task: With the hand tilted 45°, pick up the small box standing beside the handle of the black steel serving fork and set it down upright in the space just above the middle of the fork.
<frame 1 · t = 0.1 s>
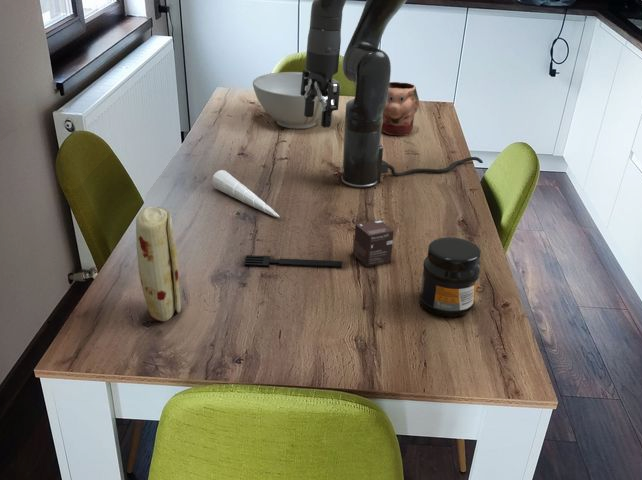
hand: (316, 121, 168), 17 cm above the table, tool pointing down, fingers open, 8 cm apart
unicorn horn: (246, 202, 171), on the table
food model: (164, 314, 128), on the table
supplement container: (445, 305, 135), on the table
decorative bowl: (296, 123, 222), on the table
decorative planter: (396, 130, 221), on the table
fork: (293, 263, 146), on the table
box: (371, 259, 149), on the table
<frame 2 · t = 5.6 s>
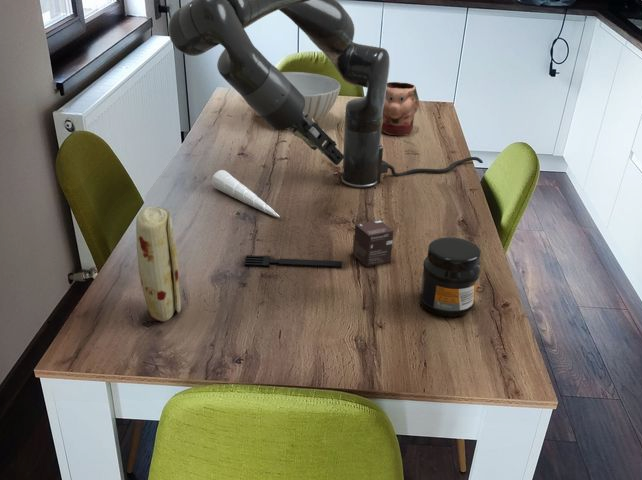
hand: (328, 153, 130), 24 cm above the table, tool tilted 45°, fingers open, 8 cm apart
nothing on the table moved.
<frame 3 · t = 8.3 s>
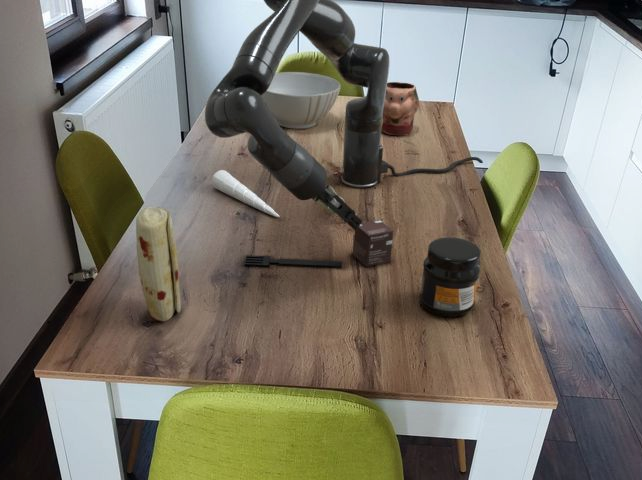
hand: (347, 216, 140), 11 cm above the table, tool tilted 45°, fingers open, 8 cm apart
nothing on the table moved.
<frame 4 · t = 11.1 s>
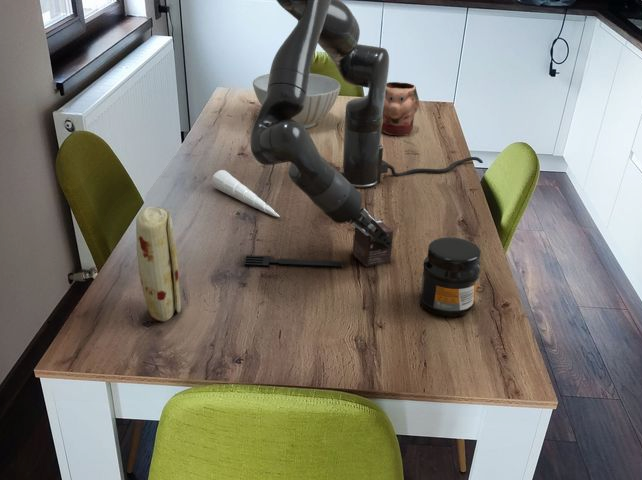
hand: (380, 238, 147), 4 cm above the table, tool tilted 45°, fingers closed on box, 6 cm apart
box: (371, 259, 149), on the table, touching gripper
everything else where it was.
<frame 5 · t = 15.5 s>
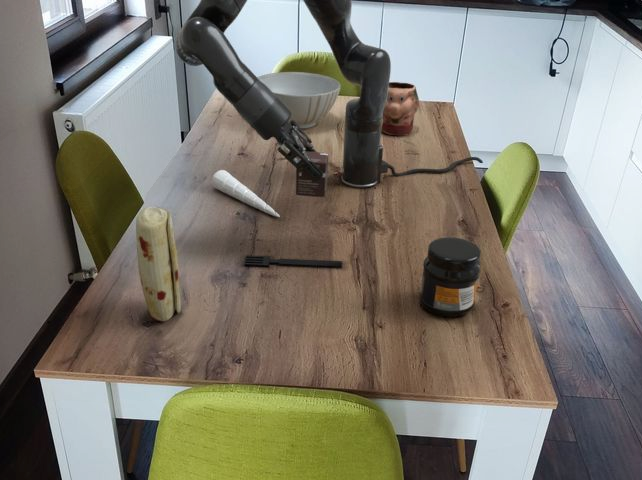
hand: (320, 171, 143), 17 cm above the table, tool tilted 45°, fingers closed on box, 6 cm apart
box: (311, 192, 145), point 12 cm above the table, touching gripper
everything else where it was.
when the fingers open (4 cm above the table, at t = 20.2 s): box stays where it is, on the table.
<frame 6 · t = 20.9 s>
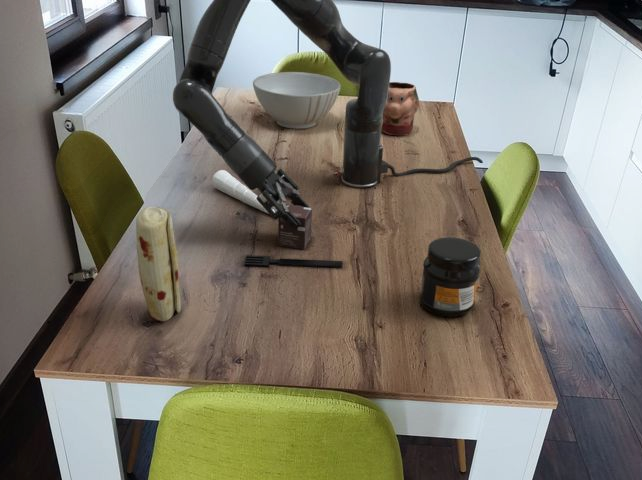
hand: (302, 219, 151), 6 cm above the table, tool tilted 45°, fingers open, 8 cm apart
box: (294, 242, 154), on the table
everything else where it was.
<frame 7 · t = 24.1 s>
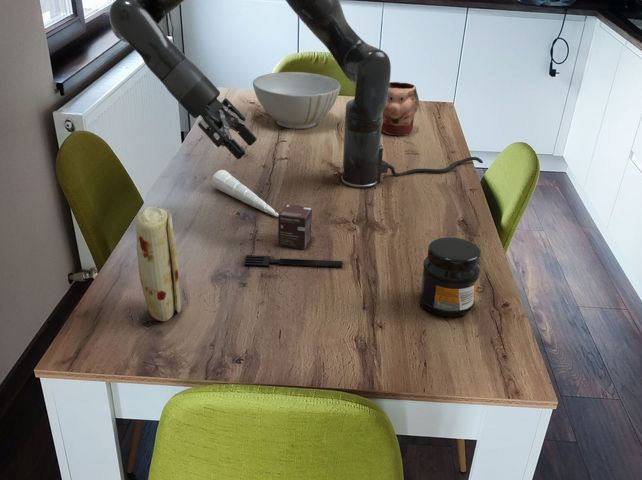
hand: (248, 149, 147), 19 cm above the table, tool tilted 45°, fingers open, 8 cm apart
nothing on the table moved.
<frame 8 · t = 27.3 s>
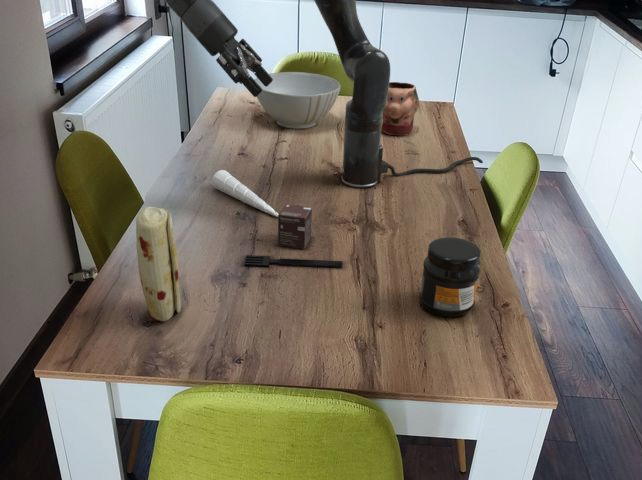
hand: (264, 88, 148), 29 cm above the table, tool tilted 45°, fingers open, 8 cm apart
nothing on the table moved.
at the end: box inside the target area on the table beside the fork (0.9 cm from its centre), on the table; box tilted 0°; the gripper is holding nothing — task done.
